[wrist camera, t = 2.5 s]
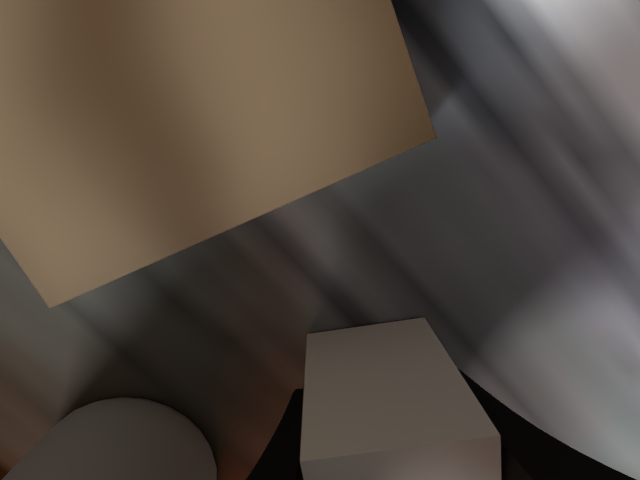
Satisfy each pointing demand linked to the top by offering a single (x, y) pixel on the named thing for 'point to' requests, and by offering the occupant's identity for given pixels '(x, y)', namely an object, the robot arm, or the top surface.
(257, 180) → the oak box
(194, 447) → the cup
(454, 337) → the top surface
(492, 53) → the top surface
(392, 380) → the ceramic block
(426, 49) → the top surface
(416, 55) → the top surface
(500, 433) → the robot arm
